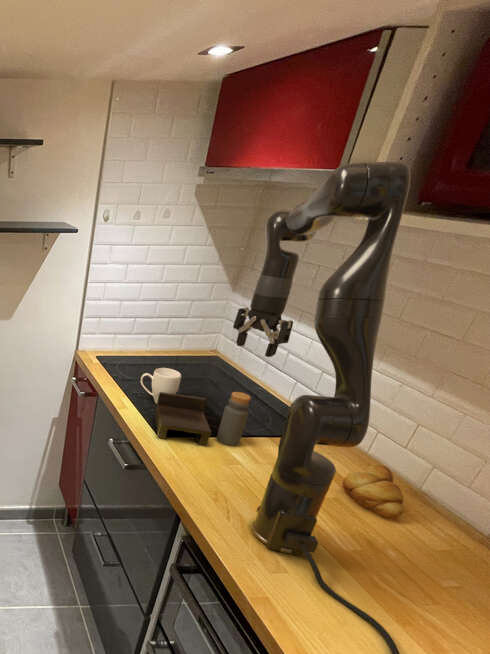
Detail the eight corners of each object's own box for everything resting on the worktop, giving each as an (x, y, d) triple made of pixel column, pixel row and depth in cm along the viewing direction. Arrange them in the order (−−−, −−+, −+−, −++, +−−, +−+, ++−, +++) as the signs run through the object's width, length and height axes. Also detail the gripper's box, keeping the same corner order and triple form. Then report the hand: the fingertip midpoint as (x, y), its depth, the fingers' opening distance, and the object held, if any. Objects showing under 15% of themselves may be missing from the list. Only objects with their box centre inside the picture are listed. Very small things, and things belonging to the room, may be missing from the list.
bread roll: (411, 525, 99) (427, 496, 96) (361, 518, 101) (375, 489, 98) (375, 489, 111) (388, 462, 108) (331, 483, 113) (342, 456, 110)
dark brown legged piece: (207, 447, 127) (215, 419, 124) (158, 439, 131) (164, 412, 127) (198, 424, 139) (205, 398, 136) (153, 417, 143) (159, 391, 139)
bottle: (242, 447, 127) (256, 401, 122) (220, 445, 129) (233, 398, 123) (234, 437, 133) (248, 391, 127) (213, 434, 134) (226, 389, 128)
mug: (173, 400, 155) (180, 369, 150) (175, 410, 148) (182, 379, 143) (137, 394, 159) (142, 364, 154) (136, 403, 152) (142, 373, 147)
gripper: (236, 287, 120) (221, 343, 127) (288, 300, 108) (268, 361, 114) (257, 286, 123) (241, 341, 129) (309, 298, 110) (289, 358, 117)
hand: (254, 350), depth 122 cm, fingers open, 8 cm apart
